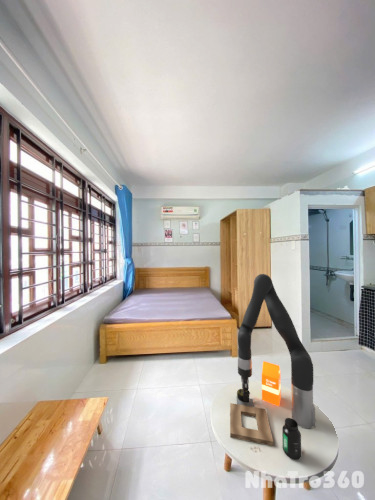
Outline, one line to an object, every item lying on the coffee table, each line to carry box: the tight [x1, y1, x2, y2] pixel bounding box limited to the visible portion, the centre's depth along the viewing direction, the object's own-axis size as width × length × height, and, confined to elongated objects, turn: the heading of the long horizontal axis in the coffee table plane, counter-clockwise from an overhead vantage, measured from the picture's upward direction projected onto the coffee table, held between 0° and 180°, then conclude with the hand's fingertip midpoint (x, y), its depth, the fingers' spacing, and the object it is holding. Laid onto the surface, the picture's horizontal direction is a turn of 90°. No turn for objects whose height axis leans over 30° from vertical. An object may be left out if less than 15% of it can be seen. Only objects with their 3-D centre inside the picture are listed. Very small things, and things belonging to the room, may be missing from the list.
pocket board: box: [229, 402, 274, 447], centre depth 92 cm, size 18×18×2 cm
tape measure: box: [236, 388, 251, 403], centre depth 106 cm, size 7×7×4 cm
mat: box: [235, 395, 255, 407], centre depth 105 cm, size 9×8×1 cm
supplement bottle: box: [281, 417, 302, 461], centre depth 79 cm, size 7×7×12 cm
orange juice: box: [261, 360, 282, 407], centre depth 109 cm, size 8×9×20 cm
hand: (244, 395), depth 105 cm, fingers closed on tape measure, 7 cm apart
